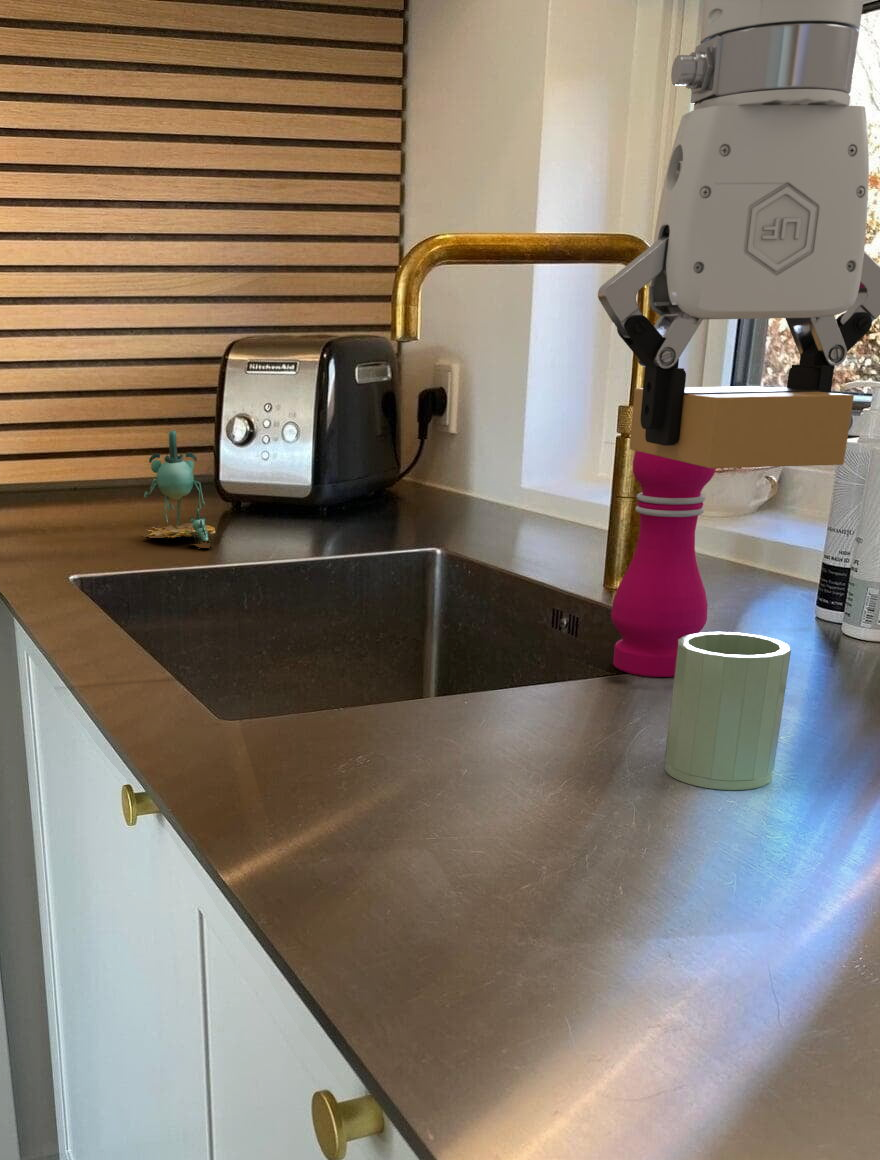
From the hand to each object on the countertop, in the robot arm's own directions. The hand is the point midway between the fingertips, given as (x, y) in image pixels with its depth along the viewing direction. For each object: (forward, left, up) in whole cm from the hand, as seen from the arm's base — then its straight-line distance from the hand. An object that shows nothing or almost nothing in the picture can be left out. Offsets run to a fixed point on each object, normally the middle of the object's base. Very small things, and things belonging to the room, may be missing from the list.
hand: (731, 439), depth 68 cm
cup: (-1, +1, -19) cm, 20 cm away
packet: (0, 0, -1) cm, 1 cm away
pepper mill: (-7, -23, -20) cm, 31 cm away
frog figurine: (+28, -93, -20) cm, 99 cm away
